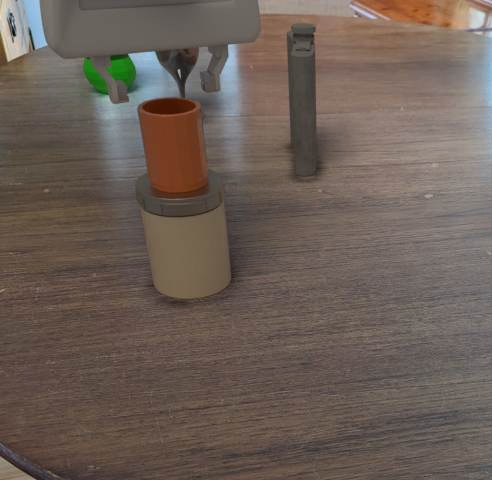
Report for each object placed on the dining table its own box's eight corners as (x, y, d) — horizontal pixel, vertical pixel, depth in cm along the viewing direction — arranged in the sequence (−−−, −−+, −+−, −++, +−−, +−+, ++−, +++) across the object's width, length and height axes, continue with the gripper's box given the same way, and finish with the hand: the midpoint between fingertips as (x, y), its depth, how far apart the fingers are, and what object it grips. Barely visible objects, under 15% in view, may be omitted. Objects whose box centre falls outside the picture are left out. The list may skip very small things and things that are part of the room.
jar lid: (154, 223, 74) (151, 205, 73) (127, 190, 81) (124, 174, 79) (237, 205, 79) (236, 189, 77) (206, 176, 85) (204, 160, 84)
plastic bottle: (76, 88, 143) (46, -58, 128) (126, 79, 149) (103, -61, 134) (98, 101, 137) (69, -51, 122) (150, 92, 143) (128, -54, 128)
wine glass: (154, 119, 130) (140, 29, 121) (177, 107, 136) (165, 20, 127) (194, 125, 128) (183, 34, 119) (215, 112, 134) (206, 24, 125)
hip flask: (290, 140, 124) (285, 12, 112) (314, 140, 125) (311, 13, 113) (295, 176, 112) (290, 37, 100) (321, 176, 112) (319, 37, 100)
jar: (168, 306, 81) (152, 210, 74) (143, 271, 87) (126, 179, 80) (243, 287, 85) (235, 194, 78) (214, 255, 91) (204, 166, 84)
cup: (161, 197, 75) (149, 119, 70) (142, 176, 79) (129, 101, 74) (217, 186, 78) (209, 110, 73) (196, 166, 82) (187, 94, 77)
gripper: (240, -69, 71) (249, 77, 80) (18, -66, 62) (54, 99, 71) (268, -60, 67) (274, 93, 76) (34, -56, 58) (71, 118, 66)
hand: (166, 96), depth 73 cm, fingers open, 8 cm apart
